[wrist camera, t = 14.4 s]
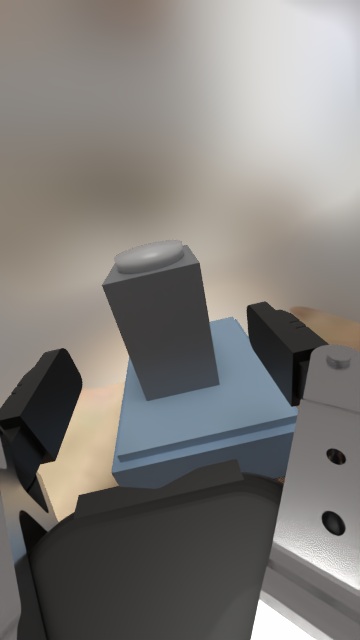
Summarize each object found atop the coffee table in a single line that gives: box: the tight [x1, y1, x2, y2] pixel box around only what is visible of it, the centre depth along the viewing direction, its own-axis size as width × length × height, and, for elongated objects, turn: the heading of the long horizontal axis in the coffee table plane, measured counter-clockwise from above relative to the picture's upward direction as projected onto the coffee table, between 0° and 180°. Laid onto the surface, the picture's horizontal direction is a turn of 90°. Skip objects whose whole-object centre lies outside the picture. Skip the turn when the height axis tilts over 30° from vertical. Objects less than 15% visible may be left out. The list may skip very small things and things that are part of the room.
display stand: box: [112, 317, 298, 489], centre depth 21 cm, size 12×14×5 cm
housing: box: [102, 240, 220, 401], centre depth 17 cm, size 6×6×10 cm
